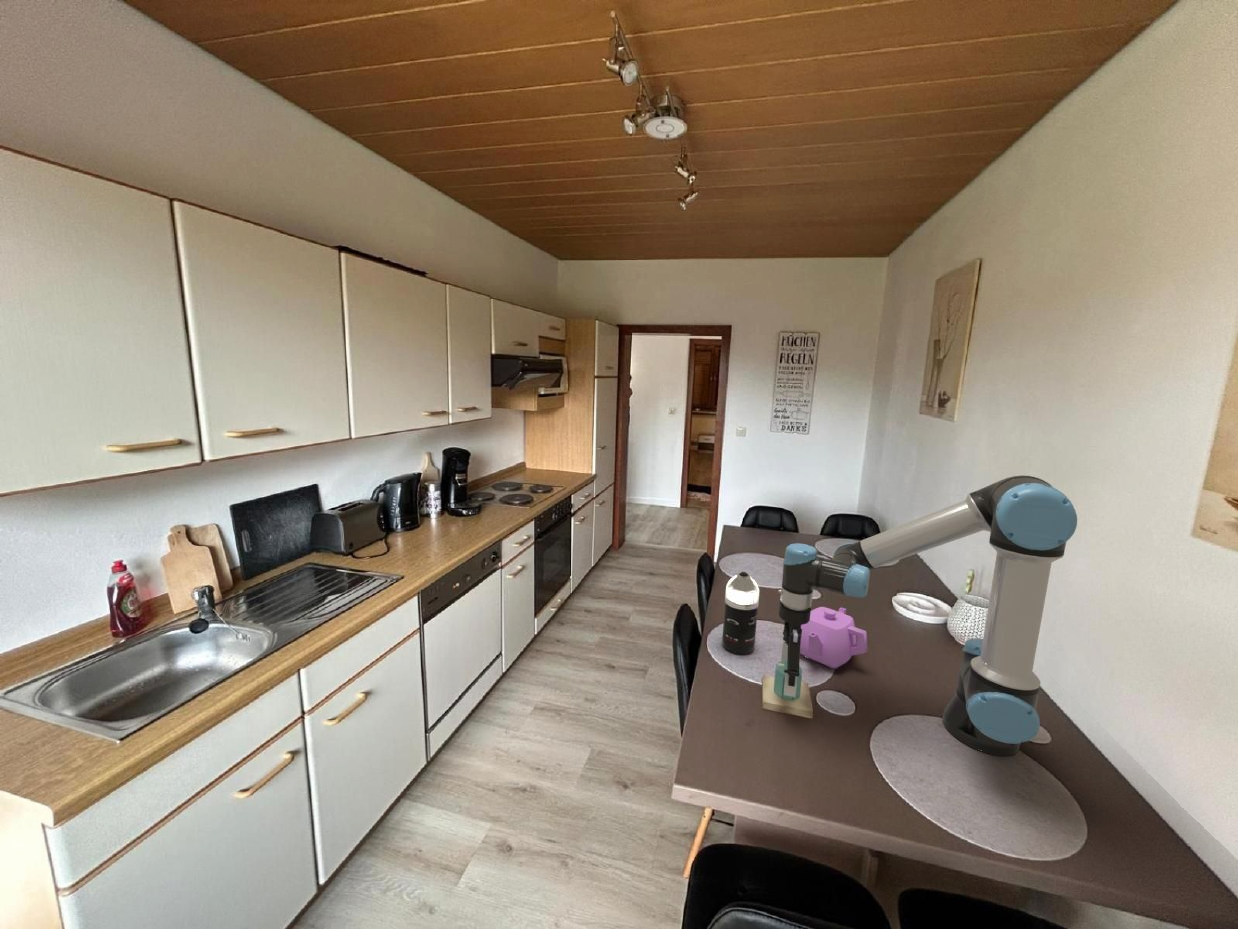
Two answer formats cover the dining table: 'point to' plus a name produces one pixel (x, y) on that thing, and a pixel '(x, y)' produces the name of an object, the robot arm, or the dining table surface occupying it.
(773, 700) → the bolt post
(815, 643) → the teapot
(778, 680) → the cap
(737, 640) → the black bottle
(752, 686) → the dining table surface
